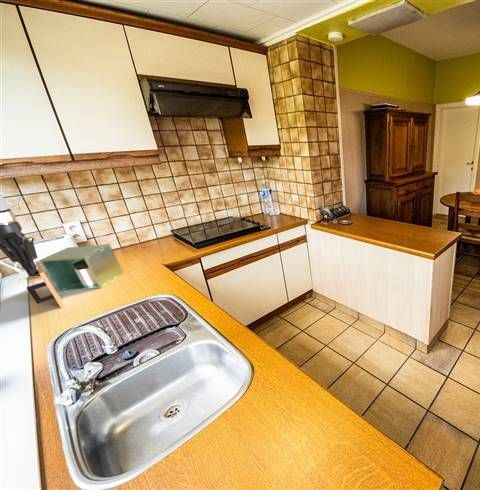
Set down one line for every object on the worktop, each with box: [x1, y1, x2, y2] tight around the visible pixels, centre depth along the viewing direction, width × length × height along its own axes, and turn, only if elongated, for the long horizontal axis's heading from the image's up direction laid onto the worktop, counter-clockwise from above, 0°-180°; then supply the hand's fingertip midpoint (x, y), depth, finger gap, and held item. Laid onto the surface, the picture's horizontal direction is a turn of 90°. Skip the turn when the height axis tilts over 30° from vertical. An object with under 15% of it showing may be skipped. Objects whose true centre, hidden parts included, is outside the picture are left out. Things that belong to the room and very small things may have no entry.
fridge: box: [38, 243, 124, 293], centre depth 135 cm, size 15×20×18 cm
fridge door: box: [26, 260, 65, 308], centre depth 119 cm, size 6×20×18 cm, turn 53°
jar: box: [73, 259, 97, 286], centre depth 135 cm, size 9×8×12 cm
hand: (34, 275), depth 114 cm, fingers closed
